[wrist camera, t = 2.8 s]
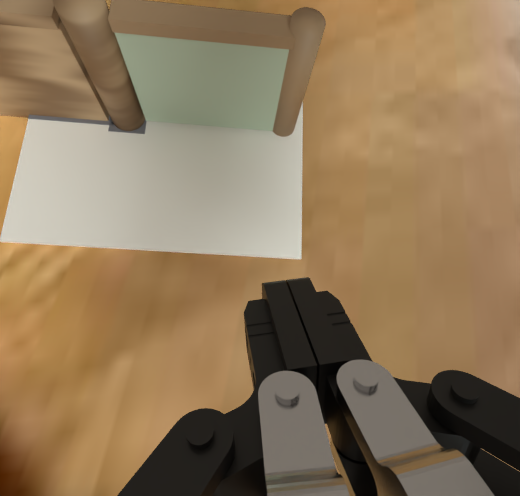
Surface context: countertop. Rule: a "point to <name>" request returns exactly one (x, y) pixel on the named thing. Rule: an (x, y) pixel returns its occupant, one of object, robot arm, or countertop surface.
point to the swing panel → (218, 63)
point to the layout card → (158, 188)
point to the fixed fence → (64, 63)
